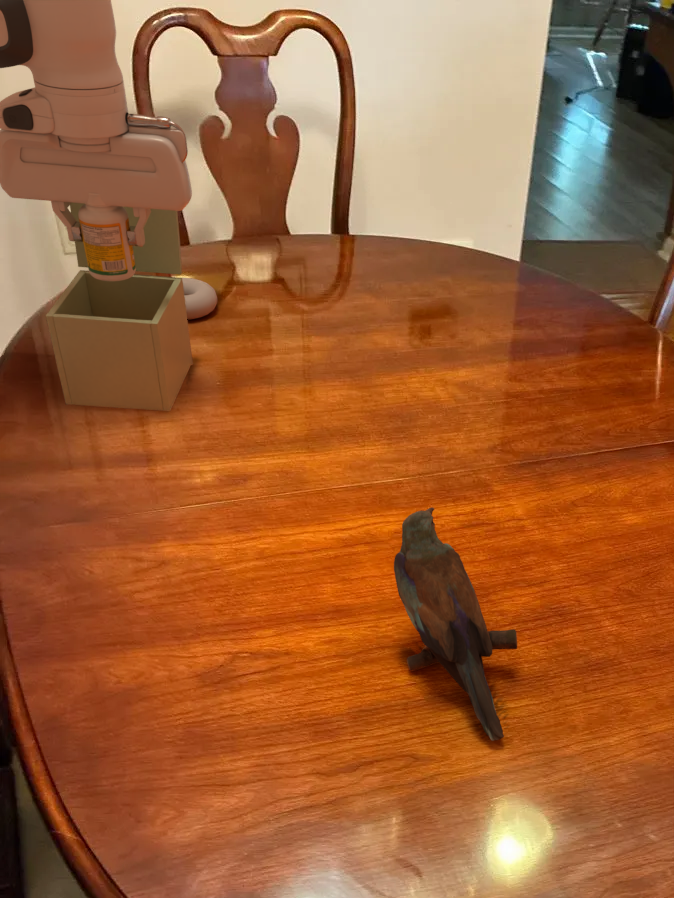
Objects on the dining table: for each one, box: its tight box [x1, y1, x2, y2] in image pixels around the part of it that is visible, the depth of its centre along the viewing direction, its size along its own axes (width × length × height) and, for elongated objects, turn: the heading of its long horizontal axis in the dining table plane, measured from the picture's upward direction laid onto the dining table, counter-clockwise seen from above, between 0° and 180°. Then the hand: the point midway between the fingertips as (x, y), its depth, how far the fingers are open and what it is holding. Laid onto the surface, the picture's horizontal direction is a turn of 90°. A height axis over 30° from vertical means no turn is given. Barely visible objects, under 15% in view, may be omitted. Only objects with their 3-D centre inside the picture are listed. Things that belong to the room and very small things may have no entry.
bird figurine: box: [393, 507, 518, 742], centre depth 87 cm, size 13×10×20 cm
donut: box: [181, 277, 218, 320], centre depth 142 cm, size 10×4×10 cm
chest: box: [45, 269, 194, 412], centre depth 119 cm, size 14×13×13 cm
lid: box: [69, 202, 183, 275], centre depth 116 cm, size 15×13×1 cm
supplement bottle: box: [78, 193, 137, 281], centre depth 110 cm, size 5×5×10 cm
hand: (107, 242), depth 111 cm, fingers closed on supplement bottle, 5 cm apart
